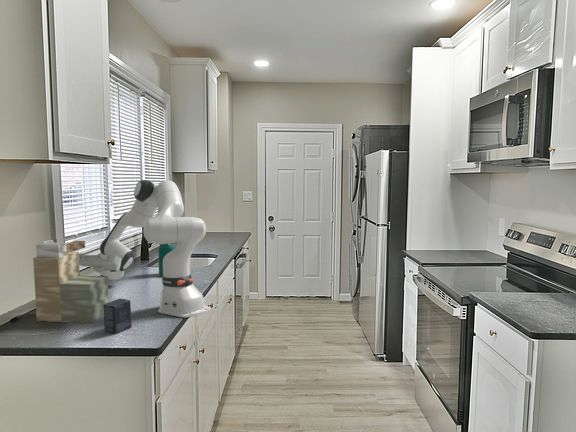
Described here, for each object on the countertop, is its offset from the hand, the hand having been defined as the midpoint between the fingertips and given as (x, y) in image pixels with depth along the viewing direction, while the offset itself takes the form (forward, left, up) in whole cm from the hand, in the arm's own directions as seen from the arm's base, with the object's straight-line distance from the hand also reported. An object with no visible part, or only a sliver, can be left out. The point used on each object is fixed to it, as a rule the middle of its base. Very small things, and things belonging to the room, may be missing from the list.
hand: (89, 254), depth 194 cm
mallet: (-10, +15, +5) cm, 19 cm away
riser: (-18, +17, -20) cm, 32 cm away
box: (-47, +13, -21) cm, 53 cm away
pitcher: (+12, -50, -21) cm, 55 cm away
